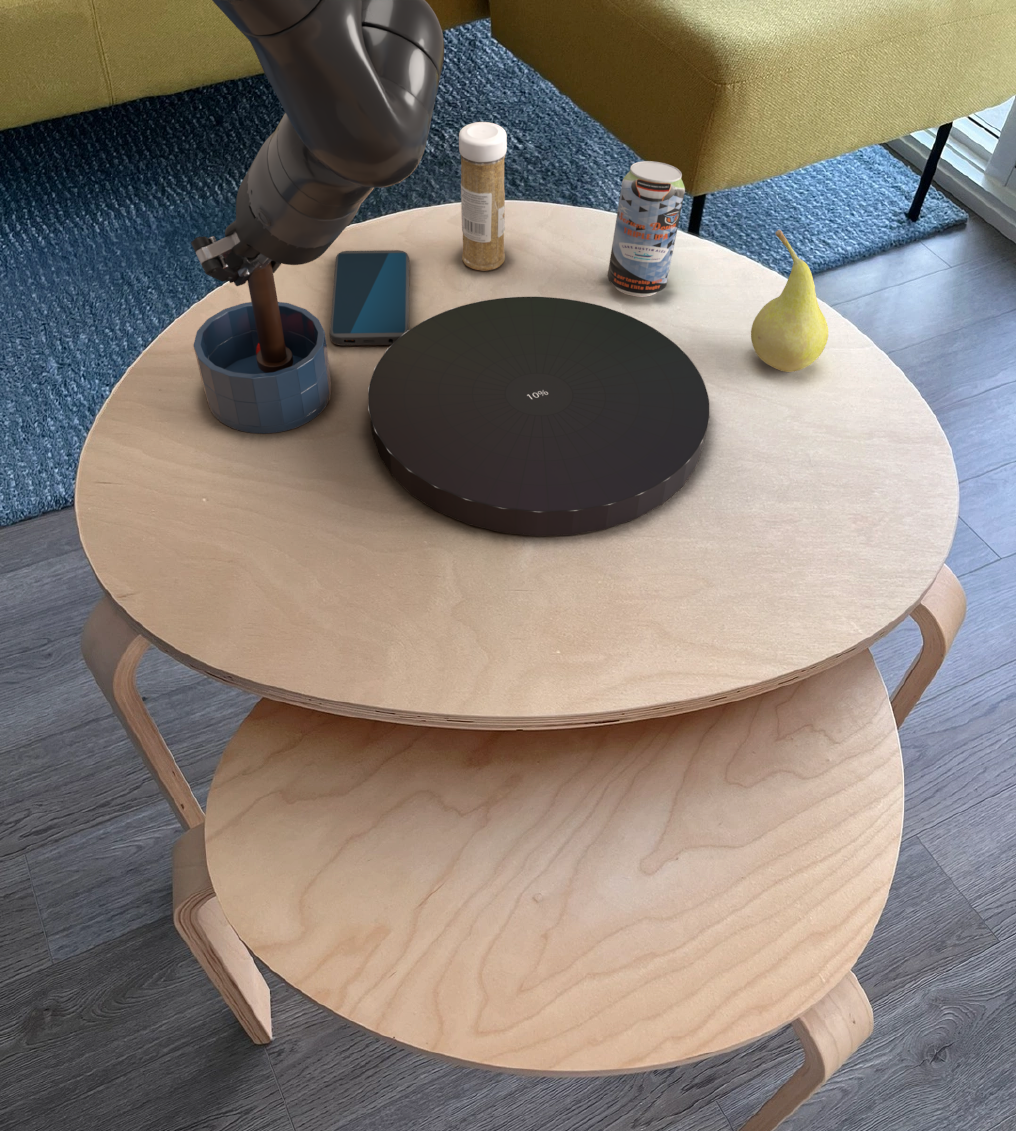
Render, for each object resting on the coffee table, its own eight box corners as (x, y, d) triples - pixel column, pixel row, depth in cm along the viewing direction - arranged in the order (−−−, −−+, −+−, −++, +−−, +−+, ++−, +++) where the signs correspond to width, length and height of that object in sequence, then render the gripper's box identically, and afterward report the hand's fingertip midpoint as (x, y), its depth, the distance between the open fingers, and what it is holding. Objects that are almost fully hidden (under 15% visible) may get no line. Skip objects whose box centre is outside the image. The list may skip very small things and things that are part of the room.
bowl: (284, 449, 98) (274, 393, 93) (181, 407, 101) (166, 351, 96) (355, 380, 104) (349, 324, 99) (256, 343, 107) (245, 287, 103)
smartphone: (329, 345, 107) (328, 337, 106) (336, 257, 116) (335, 249, 116) (409, 344, 107) (408, 336, 107) (409, 257, 117) (409, 248, 116)
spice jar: (513, 261, 117) (516, 131, 106) (481, 277, 115) (481, 147, 104) (483, 243, 119) (483, 114, 108) (451, 259, 117) (448, 130, 106)
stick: (279, 378, 99) (256, 249, 90) (250, 366, 100) (224, 238, 90) (300, 358, 101) (280, 231, 91) (271, 348, 102) (248, 220, 92)
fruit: (784, 396, 104) (815, 280, 94) (726, 357, 107) (749, 241, 98) (832, 368, 106) (866, 253, 97) (773, 331, 110) (801, 216, 101)
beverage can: (600, 299, 113) (610, 184, 103) (617, 261, 117) (629, 147, 108) (661, 311, 112) (677, 196, 102) (676, 272, 116) (693, 158, 107)
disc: (565, 287, 114) (567, 260, 112) (774, 446, 99) (782, 419, 97) (308, 394, 103) (304, 366, 100) (501, 591, 88) (501, 565, 86)
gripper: (362, 113, 81) (300, 201, 97) (187, 168, 76) (152, 251, 92) (406, 214, 83) (338, 284, 99) (238, 275, 78) (194, 338, 93)
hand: (248, 268), depth 95 cm, fingers closed on stick, 2 cm apart
